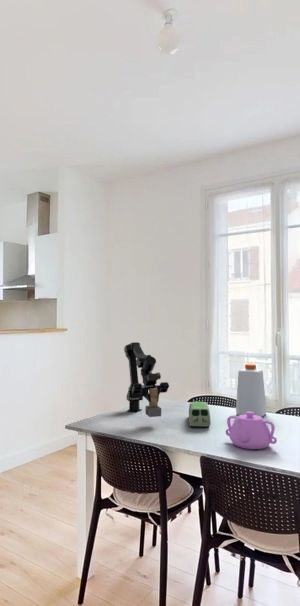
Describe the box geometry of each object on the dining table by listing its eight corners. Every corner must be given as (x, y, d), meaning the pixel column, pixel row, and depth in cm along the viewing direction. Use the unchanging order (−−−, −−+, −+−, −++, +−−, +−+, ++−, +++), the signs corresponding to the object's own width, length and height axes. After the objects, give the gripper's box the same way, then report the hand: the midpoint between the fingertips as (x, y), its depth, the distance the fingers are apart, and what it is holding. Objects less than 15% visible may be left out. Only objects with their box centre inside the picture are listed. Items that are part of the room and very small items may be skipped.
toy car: (208, 417, 206) (207, 398, 207) (211, 429, 182) (211, 408, 182) (188, 416, 207) (188, 398, 208) (189, 429, 183) (189, 408, 183)
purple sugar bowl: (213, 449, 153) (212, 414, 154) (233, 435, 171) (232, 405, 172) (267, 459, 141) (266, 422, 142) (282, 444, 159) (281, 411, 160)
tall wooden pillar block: (145, 413, 191) (145, 387, 192) (156, 412, 193) (156, 387, 193) (149, 417, 184) (149, 390, 185) (161, 416, 186) (161, 389, 187)
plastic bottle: (261, 418, 202) (261, 366, 204) (234, 415, 209) (233, 365, 211) (267, 413, 215) (266, 364, 217) (241, 410, 222) (240, 362, 224)
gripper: (133, 367, 191) (139, 393, 179) (167, 366, 196) (175, 391, 185) (129, 381, 198) (134, 406, 187) (162, 379, 203) (170, 404, 192)
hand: (154, 402), depth 187 cm, fingers closed on tall wooden pillar block, 3 cm apart
